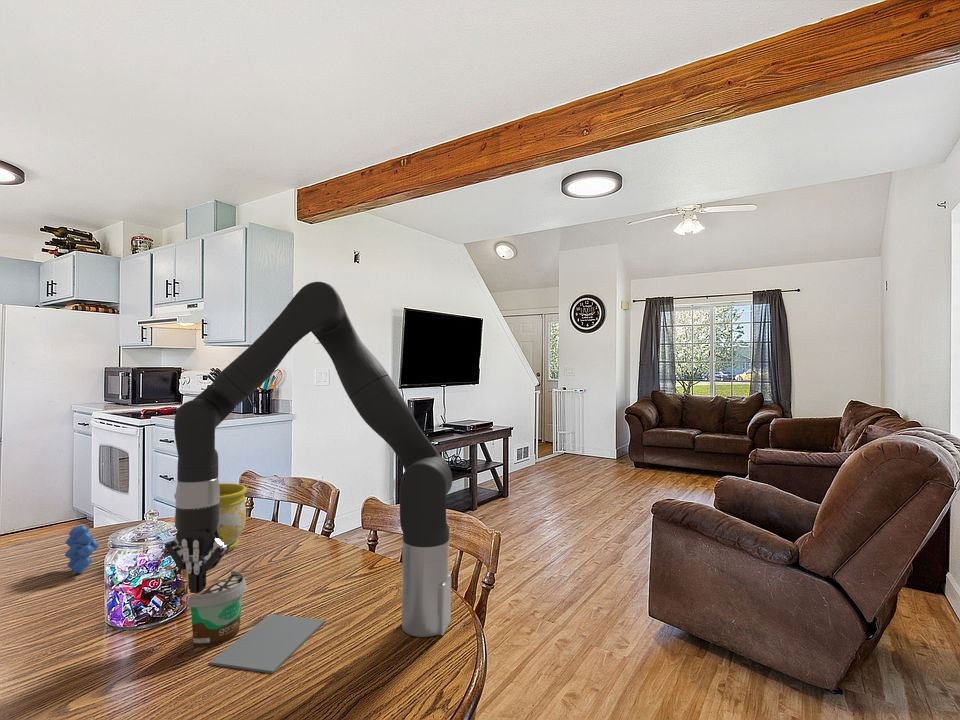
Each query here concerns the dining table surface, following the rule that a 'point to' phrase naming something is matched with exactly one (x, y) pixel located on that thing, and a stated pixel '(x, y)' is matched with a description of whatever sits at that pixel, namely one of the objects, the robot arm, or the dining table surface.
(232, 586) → the food container
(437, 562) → the robot arm
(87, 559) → the grapes
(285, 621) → the mat
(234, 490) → the flowerpot
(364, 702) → the dining table surface
